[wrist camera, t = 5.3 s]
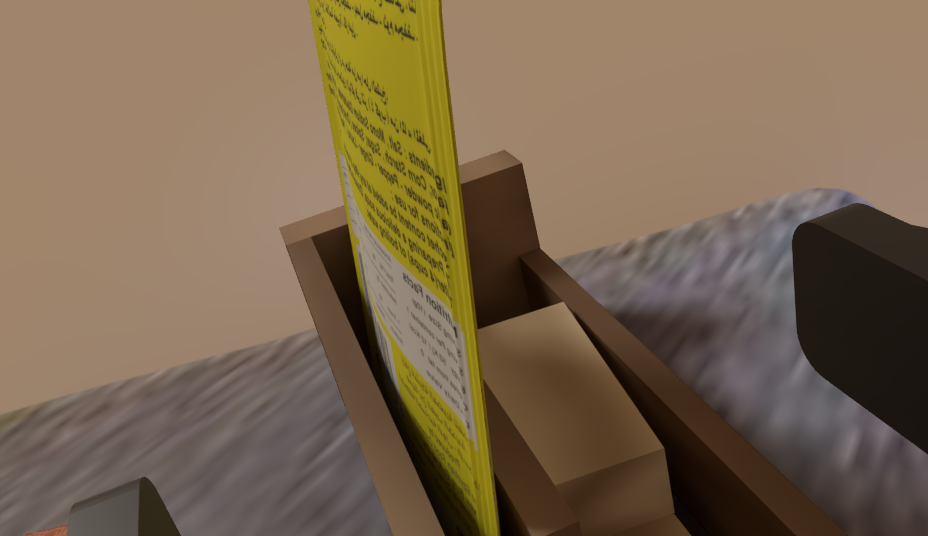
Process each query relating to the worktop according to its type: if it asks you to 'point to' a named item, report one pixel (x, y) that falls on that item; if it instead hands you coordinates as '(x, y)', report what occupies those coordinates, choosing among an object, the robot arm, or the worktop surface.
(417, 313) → the food package
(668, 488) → the upper pine offcut
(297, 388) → the worktop surface
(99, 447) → the worktop surface
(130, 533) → the robot arm
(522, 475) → the walnut rack
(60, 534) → the packaged product
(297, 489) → the worktop surface
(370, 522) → the worktop surface
